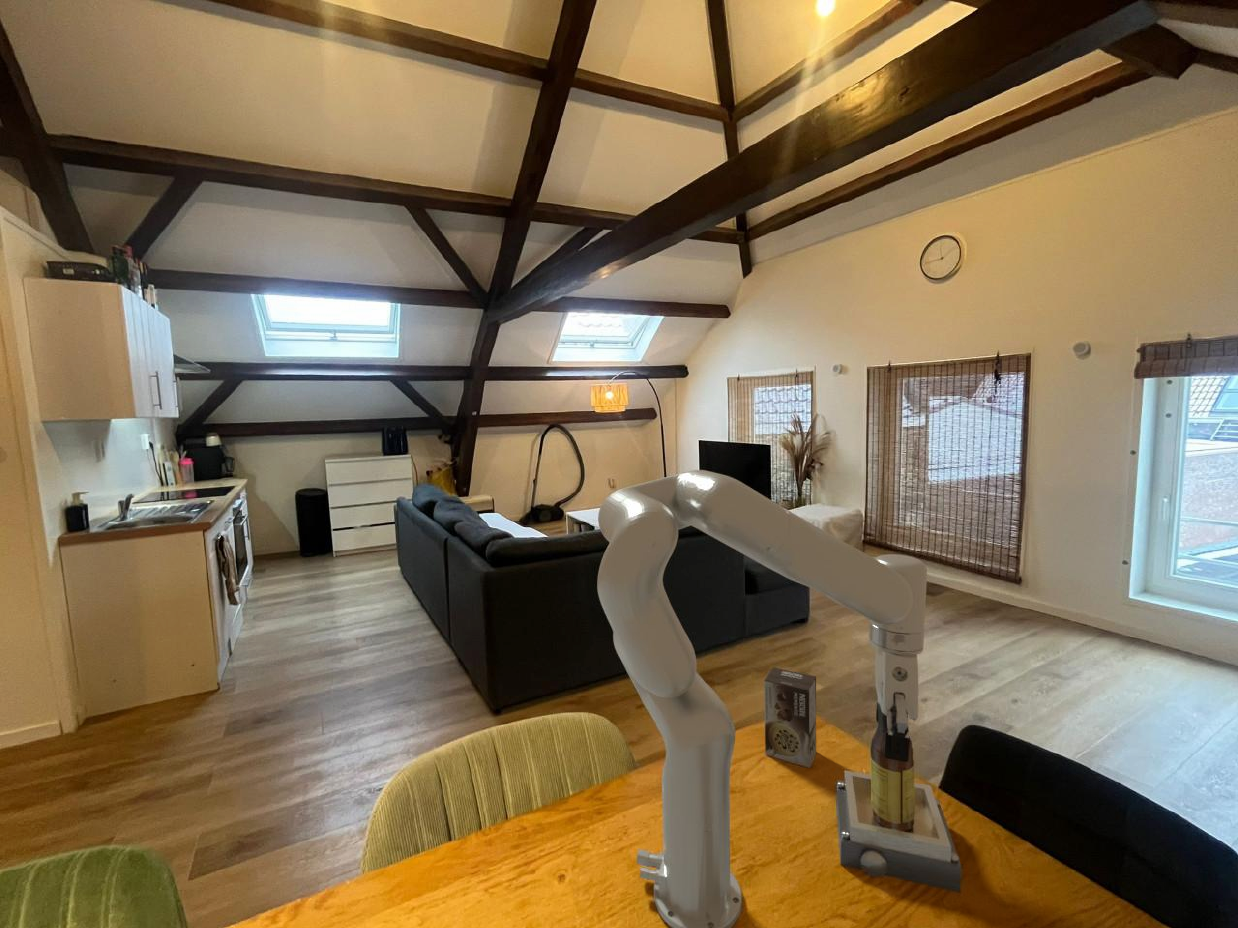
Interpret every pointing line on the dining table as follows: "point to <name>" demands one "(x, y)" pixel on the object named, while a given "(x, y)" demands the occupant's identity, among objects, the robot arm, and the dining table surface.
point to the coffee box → (790, 716)
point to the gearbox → (895, 837)
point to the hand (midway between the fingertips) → (891, 740)
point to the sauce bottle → (891, 782)
